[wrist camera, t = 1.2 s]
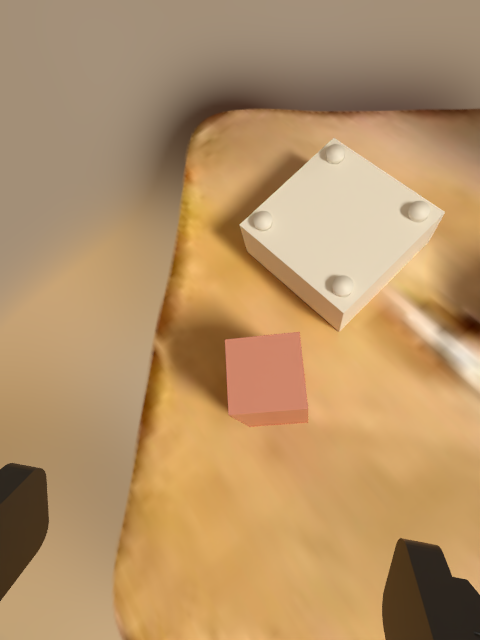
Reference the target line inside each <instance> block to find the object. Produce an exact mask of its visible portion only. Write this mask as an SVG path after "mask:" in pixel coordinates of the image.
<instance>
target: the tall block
mask: <svg viewBox="0 0 480 640" xmlns="http://www.w3.org/2000/svg"><path fill="white" fill-rule="evenodd" d="M225 352H226V373H227V393H228V413H229V416H231V417H233V418H235V419H236V420H238V421H240V422H242V423H244V424H245V425H247V426H249V427H254V426H268V425H281V424H294V423H308V403H307V394H306V385H305V377H304V368H303V359H302V350H301V341H300V332H294V333H284V334H274V335H264V336H254V337H245V338H235V339H225Z"/></svg>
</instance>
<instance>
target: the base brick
mask: <svg viewBox="0 0 480 640" xmlns="http://www.w3.org/2000/svg"><path fill="white" fill-rule="evenodd" d="M444 213H445V212H444V211H443V210H441V209H440V208H438V207H437V206H435V205H434V204H432V203H431V202H429V201H428V200H426V199H425V198H423V197H422V196H420V195H419V194H417V193H416V192H414V191H413V190H411V189H410V188H408V187H407V186H405V185H404V184H402V183H401V182H399V181H398V180H396V179H395V178H393V177H392V176H390V175H389V174H387V173H386V172H384V171H383V170H381V169H380V168H378V167H377V166H375V165H374V164H372V163H371V162H369V161H368V160H366V159H365V158H363V157H362V156H360V155H359V154H357V153H356V152H354V151H353V150H351V149H350V148H348V147H347V146H345V145H344V144H342V143H341V142H339V141H338V140H336V139H335V138H333V139H332V140H331V141H330V142H329V143H328V144H326V145H325V146H324V147H323V148H322V149H321V150H320V151H319V152H318V153H317V154H316V155H315V156H313V157H312V158H311V159H310V160H309V161H308V162H307V163H306V164H305V165H304V166H303V167H301V168H300V169H299V170H298V171H297V172H296V173H295V174H294V175H293V176H292V177H291V178H290V179H288V180H287V181H286V182H285V183H284V184H283V185H282V186H281V187H280V188H279V189H278V190H277V191H275V192H274V193H273V194H272V195H271V196H270V197H269V198H268V199H267V200H266V201H265V202H263V203H262V204H261V205H260V206H259V207H258V208H257V209H256V210H255V211H254V212H253V213H252V214H250V215H249V216H248V217H247V218H246V219H245V220H244V221H243V222H242V223H241V224H240V229H241V232H242V236H243V239H244V242H245V246H246V249H247V252H248V253H249V254H250V255H252V256H253V257H254V258H255V259H256V260H257V261H258V262H260V263H261V264H262V265H263V266H264V267H265V268H266V269H268V270H269V271H270V272H271V273H272V274H273V275H275V276H276V277H277V278H278V279H279V280H280V281H281V282H283V283H284V284H285V285H286V286H287V287H288V288H289V289H291V290H292V291H293V292H294V293H295V294H296V295H297V296H299V297H300V298H301V299H302V300H303V301H304V302H305V303H307V304H308V305H309V306H310V307H311V308H312V309H313V310H315V311H316V312H317V313H318V314H319V315H320V316H322V317H323V318H324V319H325V320H326V321H327V322H328V323H330V324H331V325H332V326H333V327H334V328H335V329H336V330H338V331H339V332H340V331H341V330H342V329H343V328H344V327H345V326H346V325H347V324H348V323H349V322H350V320H351V319H352V318H353V317H354V316H355V315H356V314H357V313H358V312H359V311H360V310H361V309H362V308H363V307H364V306H365V305H366V304H367V303H368V302H369V301H370V300H371V299H372V298H373V297H374V296H375V295H376V294H377V293H378V292H379V291H380V290H381V289H382V288H383V287H384V286H385V285H386V284H387V283H388V282H389V281H390V280H391V279H392V278H393V277H394V276H395V275H396V274H397V273H398V272H399V271H400V270H401V269H402V268H403V267H404V266H405V265H406V264H407V263H408V262H409V261H410V260H411V259H412V258H413V257H414V256H415V255H416V254H417V253H418V252H419V251H420V250H421V249H422V248H423V247H424V246H425V245H426V244H427V243H428V242H429V240H430V239H431V237H432V235H433V233H434V231H435V230H436V228H437V226H438V224H439V222H440V221H441V219H442V217H443V215H444Z"/></svg>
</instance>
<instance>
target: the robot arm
mask: <svg viewBox="0 0 480 640" xmlns="http://www.w3.org/2000/svg"><path fill="white" fill-rule="evenodd" d="M48 523H49V517H48V500H47V482H46V474H45V471H44V470H43V469H41V468H36V467H31V466H25V465H20V464H14V463H10V464H7V465H5V466H4V467H3V468H2V469H0V601H1V599H2V598H3V597H4V596H5V594H6V593H7V591H8V590H9V589H10V588H11V586H12V585H13V584H14V582H15V581H16V580H17V578H18V577H19V576H20V574H21V573H22V572H23V570H24V569H25V568H26V566H27V565H28V564H29V562H30V561H31V560H32V558H33V557H34V556H35V554H36V553H37V552H38V550H39V549H40V547H41V545H42V543H43V541H44V539H45V536H46V533H47V530H48ZM382 617H383V627H384V633H385V638H386V640H480V595H479V594H478V592H477V591H476V590H475V589H474V587H473V586H472V585H471V584H470V583H469V581H468V580H465V579H460V578H455V577H452V575H451V572H450V570H449V567H448V565H447V562H446V559H445V557H444V554H443V552H442V550H441V548H440V547H439V546H437V545H433V544H428V543H423V542H418V541H412V540H407V539H402V538H400V539H399V540H398V542H397V544H396V548H395V551H394V555H393V559H392V563H391V566H390V570H389V574H388V578H387V581H386V585H385V589H384V593H383V603H382Z"/></svg>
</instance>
